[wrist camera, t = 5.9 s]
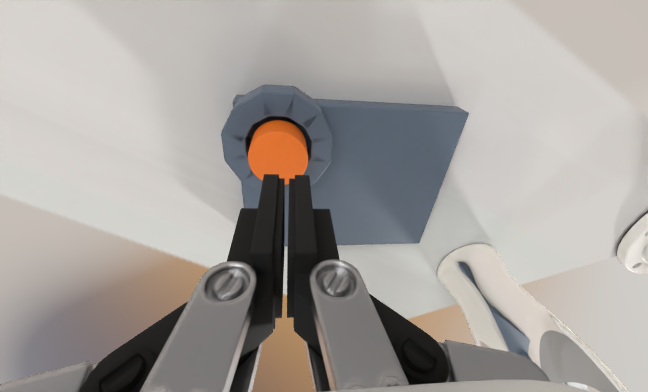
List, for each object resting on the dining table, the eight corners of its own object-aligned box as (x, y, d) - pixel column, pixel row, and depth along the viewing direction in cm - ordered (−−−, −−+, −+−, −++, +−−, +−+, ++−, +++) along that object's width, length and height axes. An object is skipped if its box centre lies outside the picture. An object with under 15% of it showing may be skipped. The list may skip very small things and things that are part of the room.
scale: (462, 91, 17) (492, 104, 14) (412, 232, 24) (427, 257, 21) (226, 76, 15) (214, 88, 12) (244, 235, 22) (239, 263, 19)
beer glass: (427, 254, 26) (557, 478, 13) (500, 229, 25) (711, 444, 12) (437, 293, 29) (544, 494, 17) (500, 273, 29) (660, 468, 16)
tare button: (307, 120, 14) (309, 133, 13) (305, 170, 16) (307, 186, 14) (249, 118, 14) (245, 130, 12) (253, 169, 15) (250, 185, 14)
